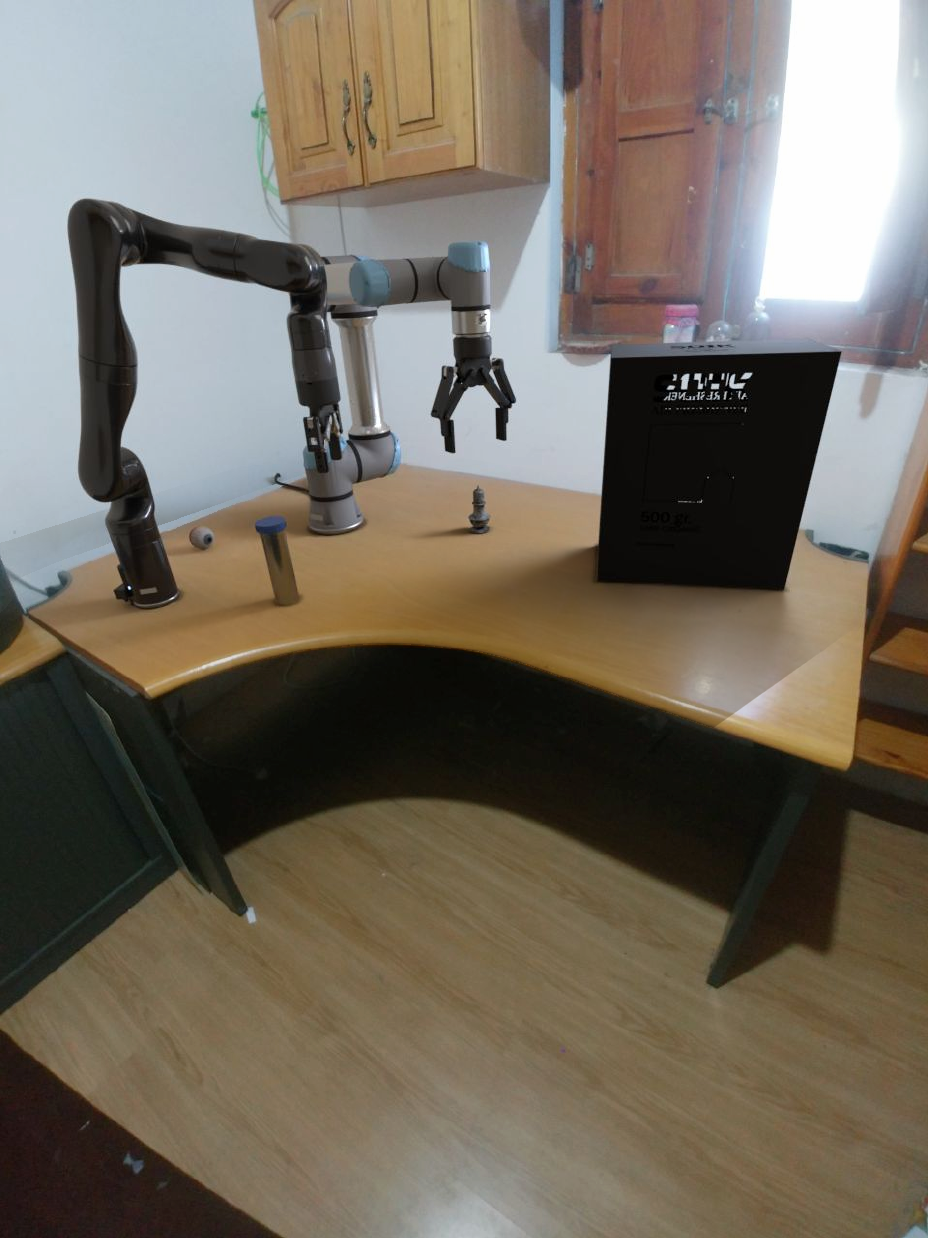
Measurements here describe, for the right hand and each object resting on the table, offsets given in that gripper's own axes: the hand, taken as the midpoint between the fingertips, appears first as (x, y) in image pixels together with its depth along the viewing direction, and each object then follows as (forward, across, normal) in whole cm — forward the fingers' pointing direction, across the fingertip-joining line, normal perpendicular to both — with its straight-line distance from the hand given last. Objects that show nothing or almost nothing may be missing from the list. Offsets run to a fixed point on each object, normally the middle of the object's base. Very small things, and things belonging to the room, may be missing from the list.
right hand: (476, 445), depth 127 cm
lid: (+10, -42, +15) cm, 46 cm away
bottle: (+28, -42, +15) cm, 53 cm away
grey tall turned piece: (+28, +14, +18) cm, 36 cm away
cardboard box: (+28, +34, -31) cm, 54 cm away
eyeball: (+28, -47, +58) cm, 80 cm away
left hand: (-1, -31, +5) cm, 31 cm away
